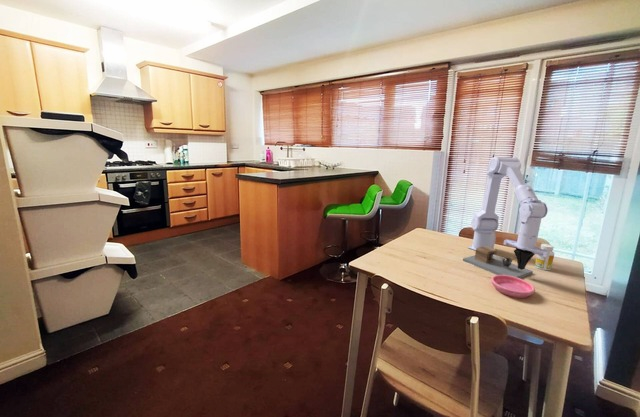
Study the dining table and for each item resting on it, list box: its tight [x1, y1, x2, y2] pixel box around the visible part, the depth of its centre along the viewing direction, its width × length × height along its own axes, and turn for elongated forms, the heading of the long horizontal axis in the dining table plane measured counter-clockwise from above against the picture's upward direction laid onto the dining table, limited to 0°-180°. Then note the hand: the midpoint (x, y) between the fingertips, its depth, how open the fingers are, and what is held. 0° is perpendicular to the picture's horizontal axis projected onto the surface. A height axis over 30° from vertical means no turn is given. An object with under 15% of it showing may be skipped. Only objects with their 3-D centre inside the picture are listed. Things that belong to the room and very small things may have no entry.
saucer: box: [490, 274, 536, 299], centre depth 98 cm, size 12×12×3 cm
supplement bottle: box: [534, 243, 555, 271], centre depth 116 cm, size 5×5×10 cm
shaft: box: [489, 253, 513, 267], centre depth 117 cm, size 4×10×4 cm, turn 29°
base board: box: [462, 254, 534, 279], centre depth 117 cm, size 14×20×1 cm
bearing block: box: [474, 246, 497, 263], centre depth 121 cm, size 6×5×5 cm
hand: (521, 268), depth 109 cm, fingers closed
